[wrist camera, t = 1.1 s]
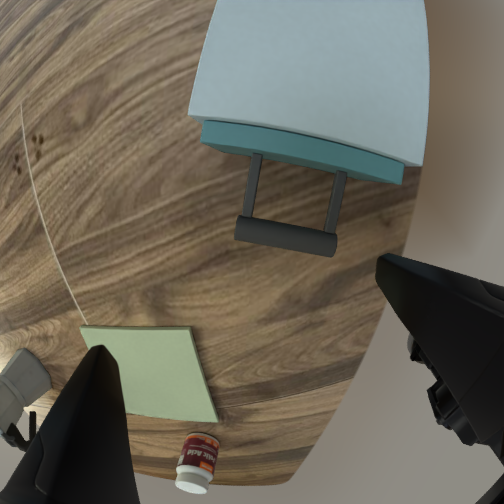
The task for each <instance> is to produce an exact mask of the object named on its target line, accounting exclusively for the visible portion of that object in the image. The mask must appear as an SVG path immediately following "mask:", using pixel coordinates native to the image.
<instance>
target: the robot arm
mask: <svg viewBox="0 0 504 504" xmlns="http://www.w3.org/2000/svg"><path fill="white" fill-rule="evenodd" d="M375 279H376V282H377V284H378V286H379V287H380V289H381V290H382V292H383V294H384V295H385V297H386V298H387V300H388V302H389V303H390V305H391V306H392V308H393V309H394V311H395V313H396V314H397V315H398V317H399V318H400V320H401V321H402V323H403V324H404V325H405V327H406V328H407V329H408V331H409V332H410V333H411V335H412V336H413V338H414V339H415V340H416V342H417V343H416V346H415V348H414V350H413V351H412V353H411V355H410V359H411V361H423V362H424V363H425V365H426V366H427V368H428V369H430V370H431V372H432V373H433V375H434V376H435V378H436V379H437V381H436V382H435V384H434V385H433V386H432V387H430V388H429V389H428V390H427V392H428V397H429V400H430V403H431V406H432V409H433V412H434V416H435V418H436V422H437V423H438V424H439V425H443V426H444V427H445V428H447V429H449V430H452V429H453V430H454V432H455V433H456V434H457V436H458V437H459V438H460V440H461V442H462V443H463V444H466V445H469V446H472V445H473V444H474V443H478V444H483V445H488V446H490V447H491V449H492V450H493V451H494V453H495V454H496V456H497V457H498V459H499V460H500V461H501V463H502V464H503V466H504V287H503V286H499V285H496V284H493V283H489V282H486V281H483V280H479V279H477V278H473V277H470V276H467V275H463V274H460V273H456V272H454V271H450V270H446V269H443V268H440V267H436V266H433V265H429V264H426V263H422V262H419V261H416V260H412V259H408V258H405V257H401V256H398V255H394V254H390V253H387V254H384V255H381V256H379V257H378V259H377V265H376V273H375ZM0 504H140V501H139V496H138V492H137V487H136V482H135V477H134V471H133V465H132V459H131V453H130V446H129V438H128V429H127V419H126V409H125V403H124V397H123V392H122V385H121V379H120V372H119V366H118V363H117V361H116V359H115V358H114V357H113V356H112V354H111V353H110V352H109V350H108V349H107V348H106V346H104V345H103V344H100V345H96V346H92V347H91V348H90V349H89V351H88V352H87V354H86V355H85V357H84V358H83V359H82V361H81V362H80V364H79V365H78V367H77V368H76V370H75V371H74V373H73V374H72V376H71V377H70V379H69V381H68V382H67V384H66V385H65V387H64V388H63V390H62V391H61V393H60V395H59V396H58V398H57V399H56V401H55V403H54V404H53V406H52V408H51V409H50V411H49V413H48V414H47V416H46V418H45V420H44V421H43V423H42V425H41V426H40V428H39V431H38V432H37V434H36V435H35V437H34V439H33V441H32V443H31V444H30V446H29V448H28V450H27V452H26V453H25V455H24V457H23V458H22V460H21V461H20V463H19V465H18V466H17V468H16V470H15V471H14V473H13V475H12V476H11V478H10V480H9V481H8V483H7V485H6V486H5V488H4V489H3V490H2V491H1V492H0ZM475 504H504V474H503V475H502V476H501V477H500V478H499V479H498V480H497V482H496V483H495V484H494V485H493V486H492V487H491V488H490V489H489V490H488V491H487V492H486V494H484V495H483V496H482V497H481V498H480V499H479V500H478V501H477V502H476V503H475Z"/></svg>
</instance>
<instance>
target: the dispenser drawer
mask: <svg viewBox="0 0 504 504" xmlns="http://www.w3.org/2000/svg"><path fill="white" fill-rule="evenodd" d="M200 142H201V143H203V144H206V145H208V146H210V147H212V148H215V149H217V150H219V151H221V152H224V153H231V154H238V155H245V156H251V163H250V169H249V174H248V180H247V186H246V192H245V198H244V204H243V210H242V215H239V216H238V218H237V222H236V227H235V233H234V239H235V240H239V241H244V242H250V243H255V244H261V245H266V246H272V247H277V248H283V249H288V250H293V251H299V252H304V253H310V254H315V255H320V256H325V257H333V256H334V254H335V251H336V248H337V234H336V233H335V229H336V225H337V221H338V216H339V212H340V207H341V202H342V198H343V193H344V188H345V183H346V178H347V177H351V178H355V179H358V180H365V181H374V182H383V183H391V184H399V185H401V183H402V178H403V172H404V166H405V164H404V163H402V162H399V161H396V160H393V159H390V158H387V157H384V156H381V155H378V154H375V153H371V152H368V151H365V150H361V149H358V148H355V147H351V146H347V145H344V144H340V143H336V142H332V141H328V140H324V139H320V138H315V137H311V136H307V135H302V134H297V133H292V132H287V131H282V130H276V129H271V128H265V127H259V126H252V125H245V124H238V123H230V122H221V121H212V120H204V122H203V128H202V133H201V139H200ZM262 158H263V159H269V160H274V161H279V162H285V163H290V164H295V165H300V166H304V167H309V168H314V169H318V170H322V171H327V172H331V173H335V178H334V183H333V188H332V193H331V198H330V203H329V207H328V212H327V217H326V221H325V226H324V231H322V230H317V229H312V228H307V227H302V226H296V225H291V224H286V223H281V222H276V221H270V220H265V219H259V218H254V217H252V214H253V209H254V203H255V197H256V192H257V186H258V180H259V175H260V169H261V163H262Z"/></svg>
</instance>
